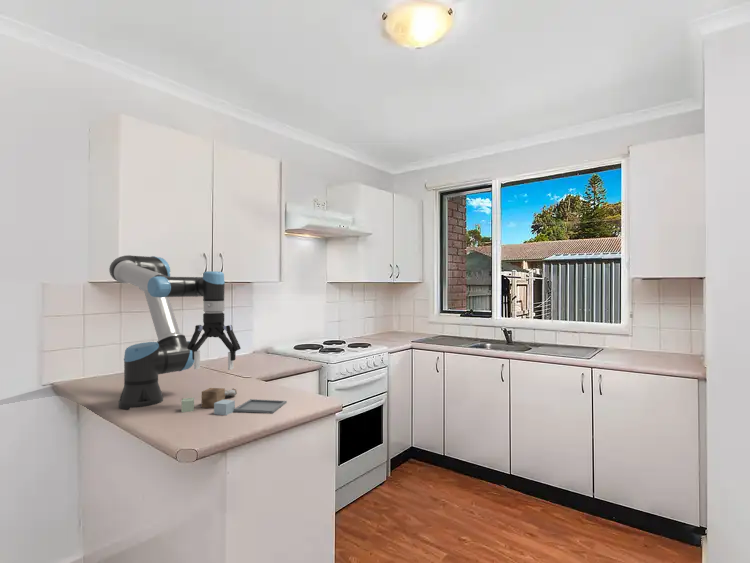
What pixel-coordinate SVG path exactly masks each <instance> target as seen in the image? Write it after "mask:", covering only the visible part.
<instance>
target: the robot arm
mask: <svg viewBox="0 0 750 563" xmlns="http://www.w3.org/2000/svg"><path fill="white" fill-rule="evenodd" d="M108 269H109V270H108V271H109V274H110V277H111V278H112V279H113V280H115V281H116V282H118V283H120V284H131V285H134V286H135V287H138V289H139V290H140V291H142V292H143V293H144V296H145V299H146V302H147V306H148V310H149V312H150V316H151V319H152V324H153V327H154V330H155V332H156V337H157V341H146V342H140V343H135V344H132V345H129V346H128V347H126V349H125V350H124V354H123V356H124V358H123V368H124V369H123V371H124V373H123V376H124V379H123V382H124V383H123V385H124V386H123V388H122V391H121V394H120V396H119V400H118V408H120V409H122V410H130V409H133V408H134V409H137V408H144V407H150V406H155V405H158V404H160V403H162V402H163V401H164V396H163V394H162V390H161V387H160V384H159V375H163V374H170V373H175V372H183V371H186V370H189V369H190V368H191V367H192V366H193V369H194V370H198V369H201V350H200V348H201V347H202V345H203V344H204V343H206V341H207V339H208V338H218V339H220V341H222V343H223V344H224V346H225V347H226V348H227V349H228V350H229V351H228V352H227V370H228V371H231V370H234V361H235V360H236V358H237V357H236V352H237V351H240V350H241V349H242V348H241V345H240V343H239V341H238V339H237V337H236V335H235V332H234V330H233V325H232V324H228V325H225V313H224V312H225V286H226V285H225V282H226V281H225V274H224V272H222V271H213V270H212V271H204V272H203V275H202V276H201V277H200V276H171V273H170V272H171V267H170V264H169V262H168V261H167V260H166V259H164V258H163V257H158V256H153V255H152V256H145V255H144V256H140V255H129V254H128V255H123V256H119V257H117V258H115V259H113V261H112V262H111V263H110V265H109V268H108ZM177 297H178V298H180V297H182V298H185V297H186V298H187V297H190V298H191V297H192V298H193V297H195V298H197V297H203V298H202V300H203V302H202V303H203V304H202V305H203V306H202V307H203V308H202V309H203V310H202V311H203V312H204V313H203V314H202V316H203V317H202V320H203V321H202V322H203V324H196V325H195V326H194V327H195V328H194V332H193V334H192V336H191V339H190V340H189V341H187V338H186V336H185V335H184V334H183V333H181V332H180V329H179V326H178V323H177V319H176V317H175V313H174V310H173V306H172V303H171V299H170V298H177ZM202 331H204V332H203V333H202ZM224 331H225V332H226V333H225V332H224ZM201 333H202V335H201ZM226 334H227V335H226ZM200 335H201V337H200ZM227 336H228V337H227ZM199 337H200V338H199Z"/></svg>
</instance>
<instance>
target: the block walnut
mask: <svg viewBox="0 0 750 563" xmlns="http://www.w3.org/2000/svg"><path fill="white" fill-rule="evenodd" d="M225 390H226V389H225V388H222V387H221V388H220V387H209V388H207V389H205V390H203V391H201V408H202V409H203V408H205V409H214V403H216V402H218V401H221V400H226V397H225Z"/></svg>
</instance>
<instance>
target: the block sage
mask: <svg viewBox="0 0 750 563" xmlns="http://www.w3.org/2000/svg"><path fill="white" fill-rule="evenodd" d="M194 411H195V397H185V398H181V413H188V412H189V413H190V412H191V413H192V412H194Z"/></svg>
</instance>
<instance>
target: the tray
mask: <svg viewBox="0 0 750 563" xmlns="http://www.w3.org/2000/svg"><path fill="white" fill-rule="evenodd" d="M286 404H287V400H275V399H273V400H272V399H257V398H256V399H255V398H254V399H253V398H250V399H249V400H247V401H245V402H243V403H242V404H239V405H238V406H237V407H235V409H234V412H233V413H241V414H242V413H245V414H272V415H273V414H274V413H275V412H277V411H278V410H279V409H281V408H282V407H283V406H284V405H286Z"/></svg>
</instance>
